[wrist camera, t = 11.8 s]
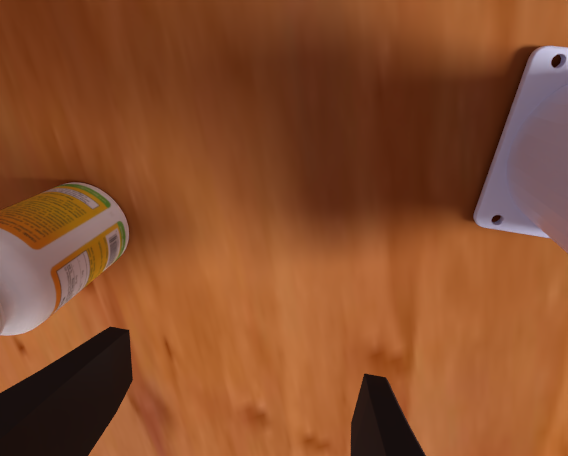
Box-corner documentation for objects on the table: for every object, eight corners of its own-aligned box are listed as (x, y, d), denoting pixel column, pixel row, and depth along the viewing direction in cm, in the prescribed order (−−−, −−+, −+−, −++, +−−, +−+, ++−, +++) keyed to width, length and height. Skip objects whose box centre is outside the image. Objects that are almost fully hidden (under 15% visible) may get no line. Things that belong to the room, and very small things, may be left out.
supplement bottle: (32, 198, 23) (-170, 284, 14) (98, 166, 21) (-82, 241, 12) (82, 272, 24) (-69, 390, 16) (148, 247, 23) (20, 364, 14)
